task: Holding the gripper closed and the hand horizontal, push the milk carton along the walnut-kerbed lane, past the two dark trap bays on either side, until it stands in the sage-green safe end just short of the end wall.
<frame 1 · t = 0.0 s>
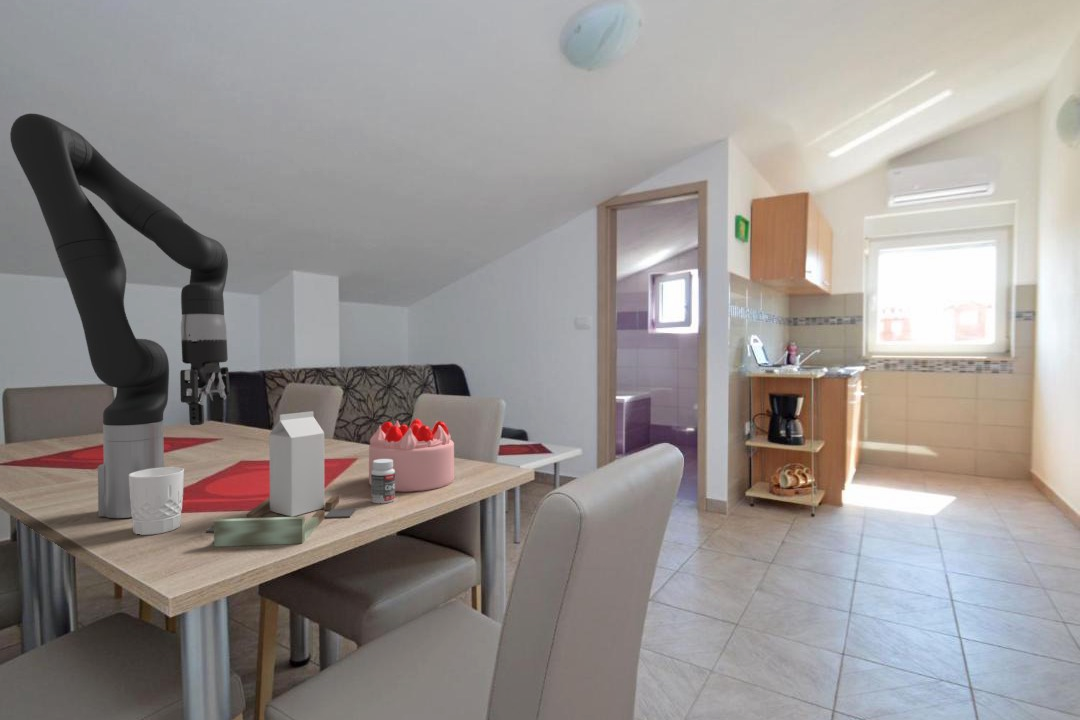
hand: (208, 421, 105), 17 cm above the table, tool pointing down, fingers open, 8 cm apart
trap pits: (284, 521, 99), on the table
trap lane: (284, 521, 99), on the table
pill bottle: (383, 501, 112), on the table
cake: (411, 482, 129), on the table
white cup: (157, 530, 94), on the table
milk carton: (297, 511, 106), on the table
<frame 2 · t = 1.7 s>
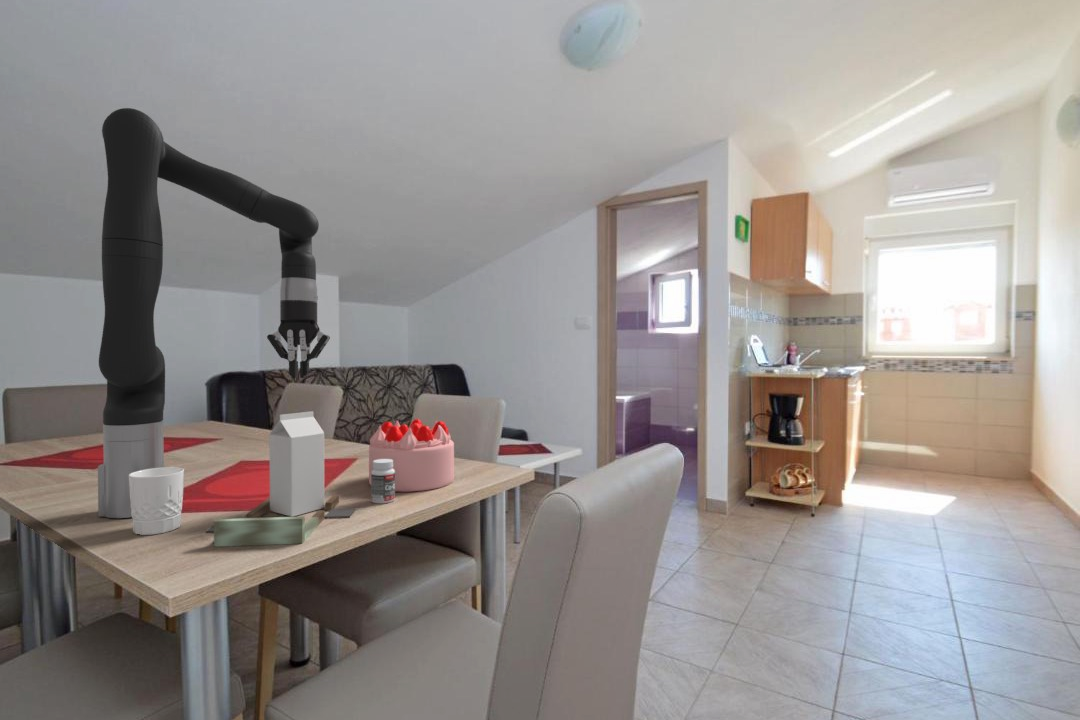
hand: (299, 377, 120), 25 cm above the table, tool pointing down, fingers closed
nothing on the table moved.
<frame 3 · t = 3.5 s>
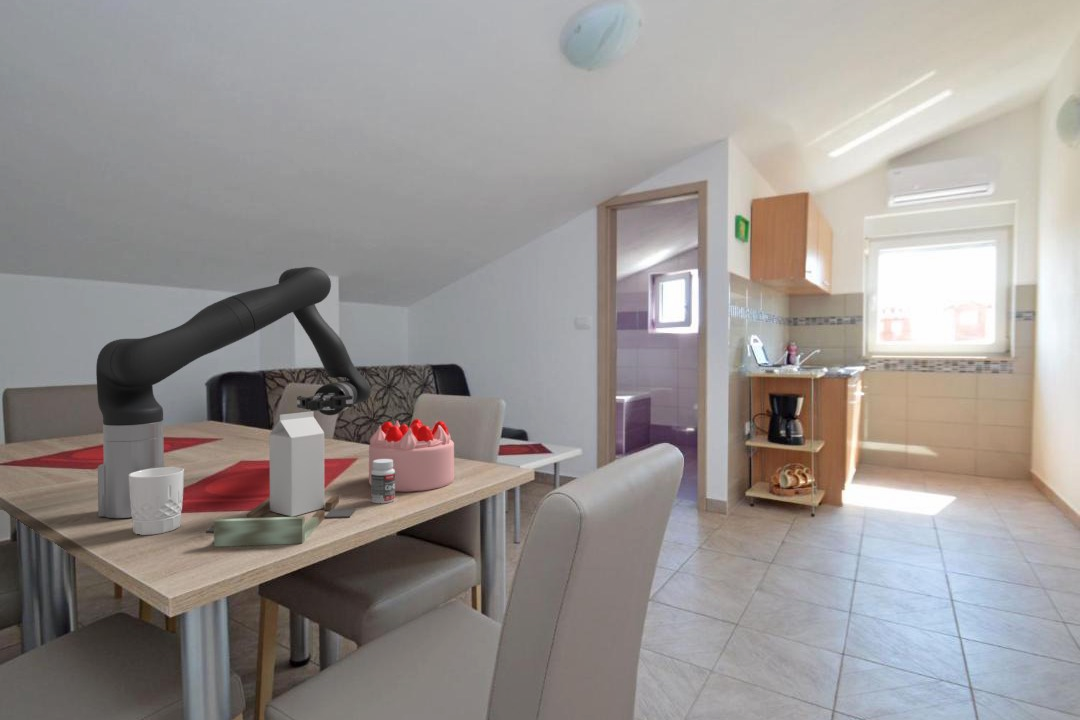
hand: (313, 405, 116), 19 cm above the table, tool horizontal, fingers closed
nothing on the table moved.
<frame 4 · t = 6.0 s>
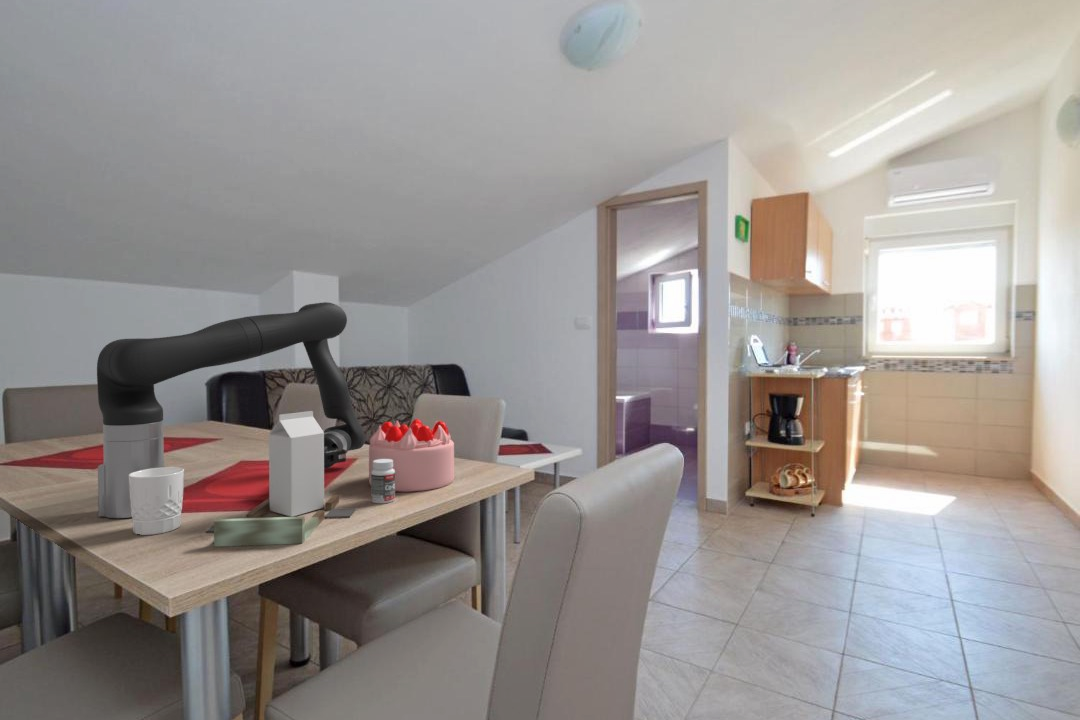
hand: (304, 464, 110), 8 cm above the table, tool horizontal, fingers closed
milk carton: (297, 510, 105), on the table, touching gripper
everything else where it was.
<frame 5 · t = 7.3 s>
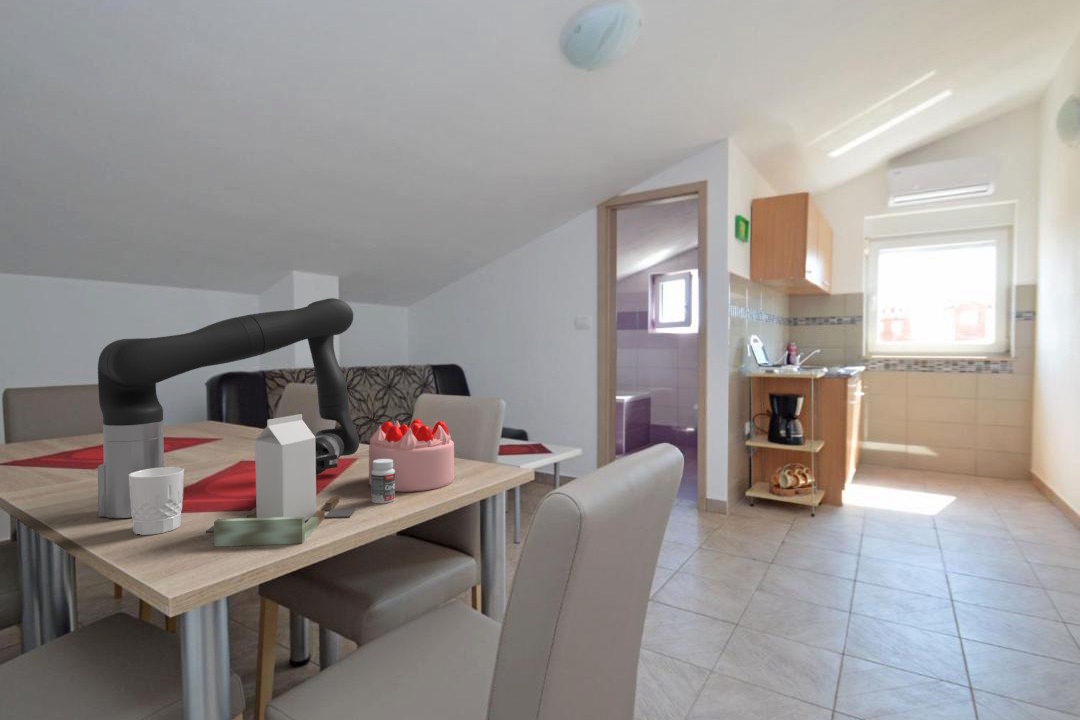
hand: (292, 470, 103), 8 cm above the table, tool horizontal, fingers closed
milk carton: (287, 521, 99), on the table, touching gripper
everything else where it was.
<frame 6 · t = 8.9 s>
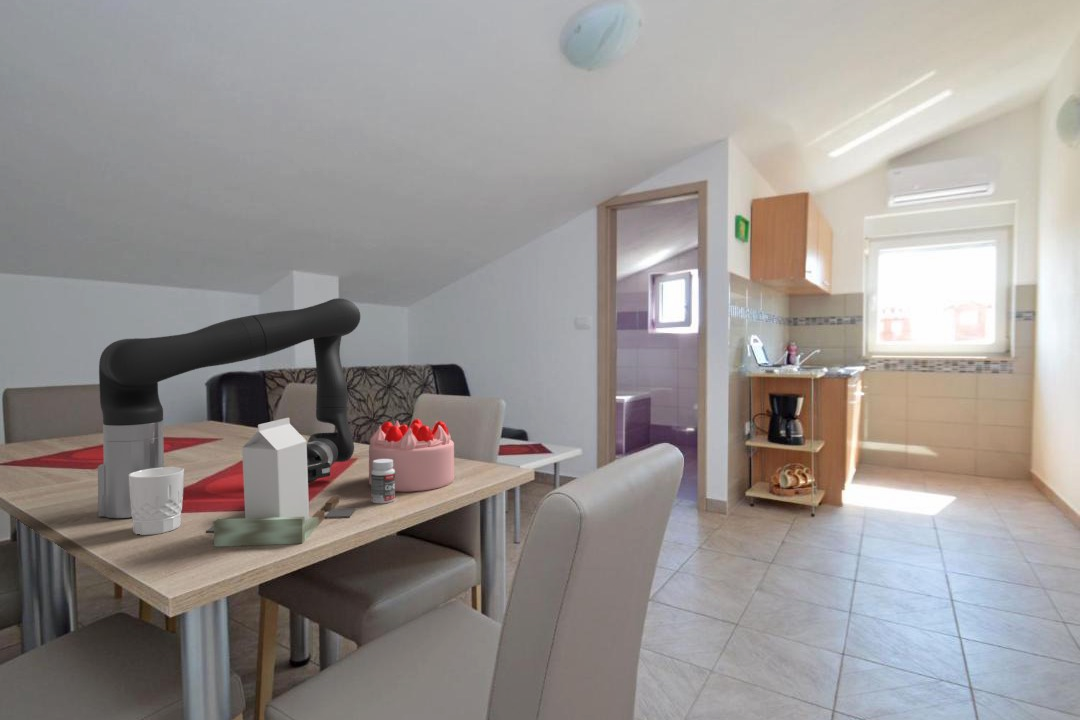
hand: (281, 481, 96), 8 cm above the table, tool horizontal, fingers closed
milk carton: (278, 530, 94), on the table, touching gripper
everything else where it was.
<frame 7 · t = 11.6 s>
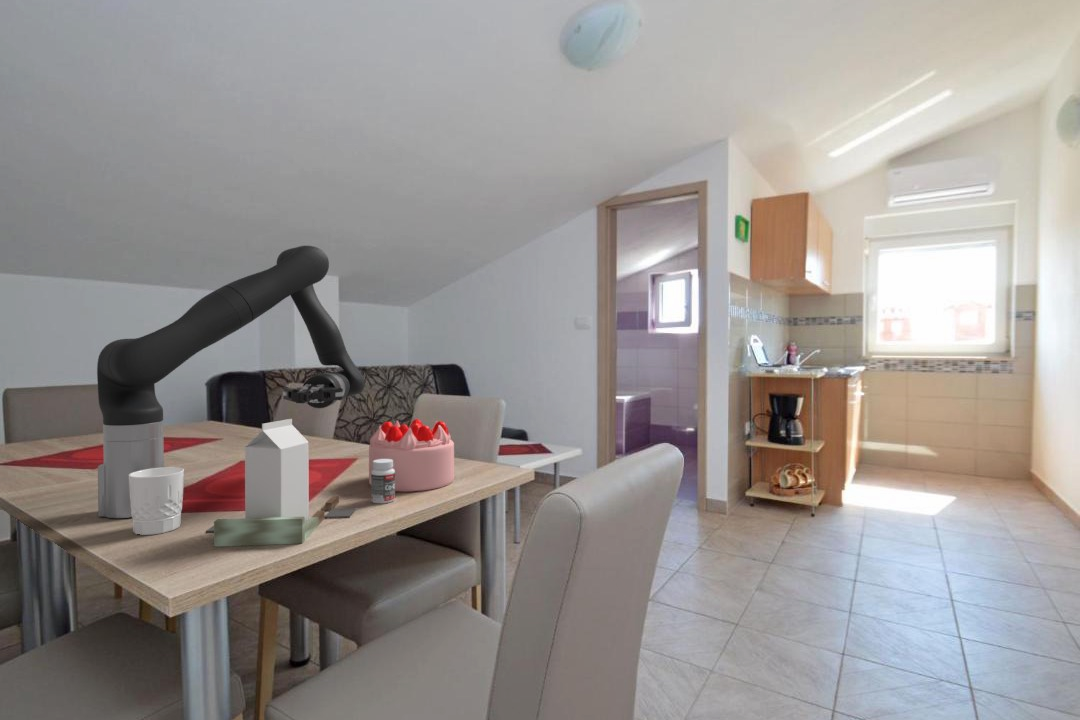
hand: (299, 398, 108), 22 cm above the table, tool horizontal, fingers closed
milk carton: (277, 531, 94), on the table
everything else where it was.
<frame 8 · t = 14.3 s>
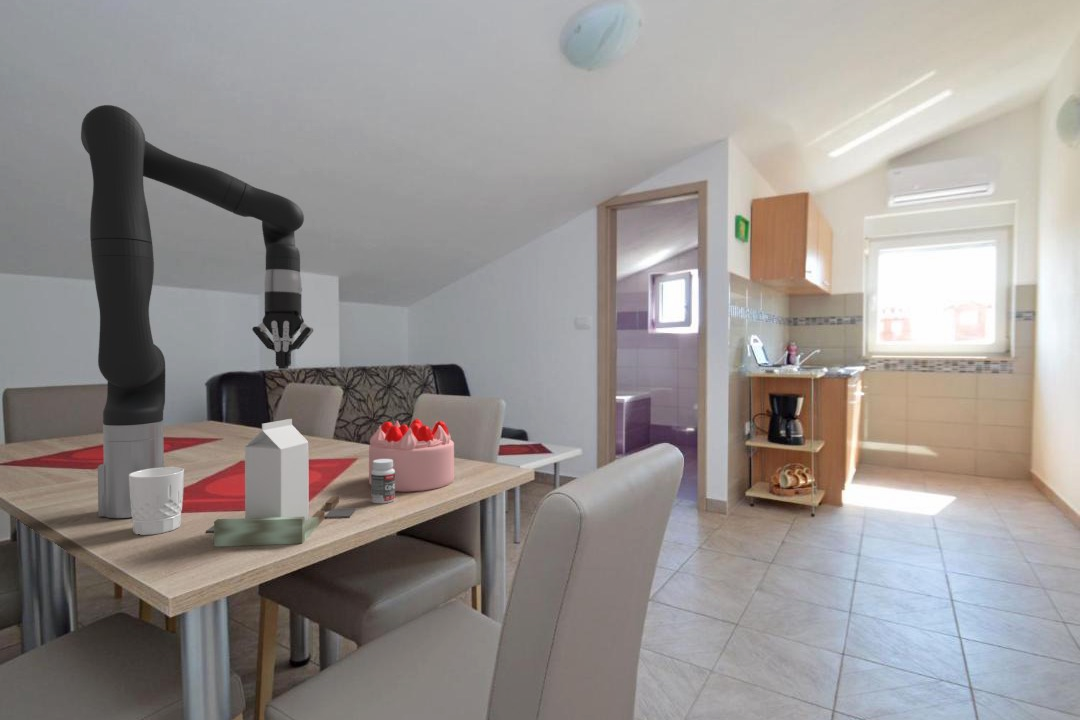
hand: (283, 368, 122), 27 cm above the table, tool pointing down, fingers closed
nothing on the table moved.
at the end: milk carton inside the target area (1.5 cm from its centre), on the table; milk carton tilted 0°; milk carton moved 12.2 cm from its start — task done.
